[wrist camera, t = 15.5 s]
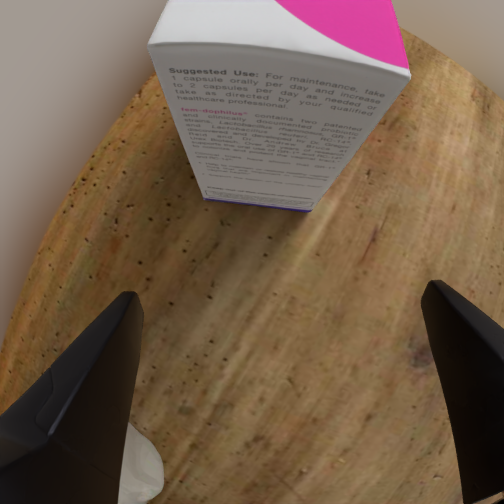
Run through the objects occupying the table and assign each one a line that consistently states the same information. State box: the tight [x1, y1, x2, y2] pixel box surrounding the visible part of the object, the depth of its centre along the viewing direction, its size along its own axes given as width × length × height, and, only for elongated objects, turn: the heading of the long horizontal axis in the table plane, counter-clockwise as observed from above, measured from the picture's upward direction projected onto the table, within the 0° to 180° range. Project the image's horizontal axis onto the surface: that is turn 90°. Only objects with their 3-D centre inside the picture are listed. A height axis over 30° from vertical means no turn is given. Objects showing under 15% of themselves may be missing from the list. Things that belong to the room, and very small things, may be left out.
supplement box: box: [147, 0, 411, 212], centre depth 11 cm, size 6×6×12 cm
